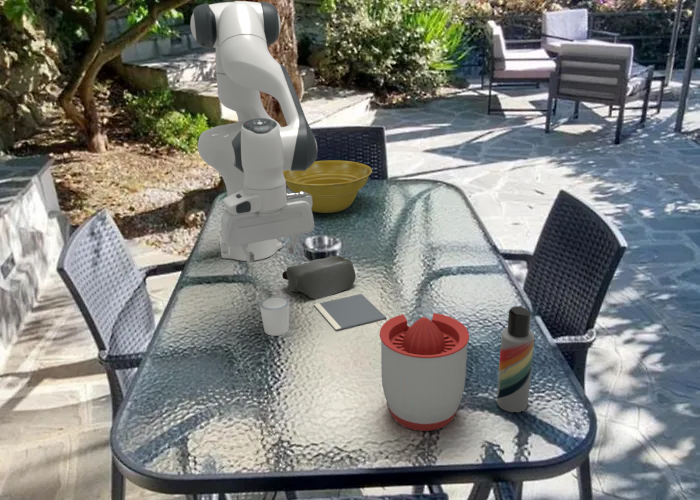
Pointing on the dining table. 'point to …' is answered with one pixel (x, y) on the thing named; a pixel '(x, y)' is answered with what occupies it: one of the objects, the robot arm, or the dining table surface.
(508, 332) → the lotion bottle
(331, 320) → the mat
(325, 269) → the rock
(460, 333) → the citrus juicer
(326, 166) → the planter bowl
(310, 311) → the dining table surface
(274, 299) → the shot glass
